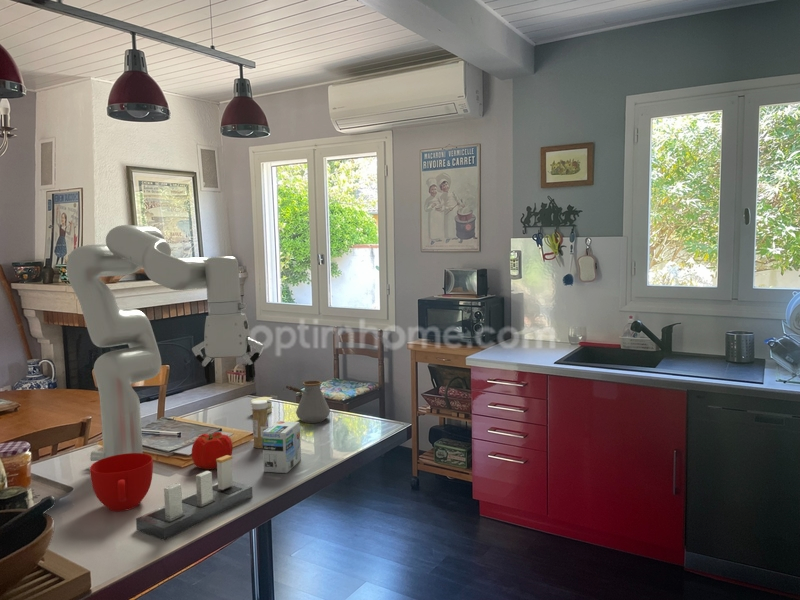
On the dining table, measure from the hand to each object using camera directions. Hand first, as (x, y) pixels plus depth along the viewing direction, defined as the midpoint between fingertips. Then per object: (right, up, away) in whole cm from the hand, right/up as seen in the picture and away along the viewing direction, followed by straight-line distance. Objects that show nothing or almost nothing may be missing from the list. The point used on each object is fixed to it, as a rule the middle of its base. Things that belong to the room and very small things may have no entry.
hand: (230, 381), depth 141 cm
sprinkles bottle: (-1, -24, +35) cm, 42 cm away
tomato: (-10, -26, +19) cm, 33 cm away
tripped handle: (0, -24, -3) cm, 24 cm away
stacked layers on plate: (-9, -22, +70) cm, 74 cm away
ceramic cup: (-22, -28, -7) cm, 36 cm away
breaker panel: (-4, -28, -9) cm, 30 cm away
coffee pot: (+9, -22, +56) cm, 61 cm away
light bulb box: (+9, -25, +18) cm, 32 cm away
